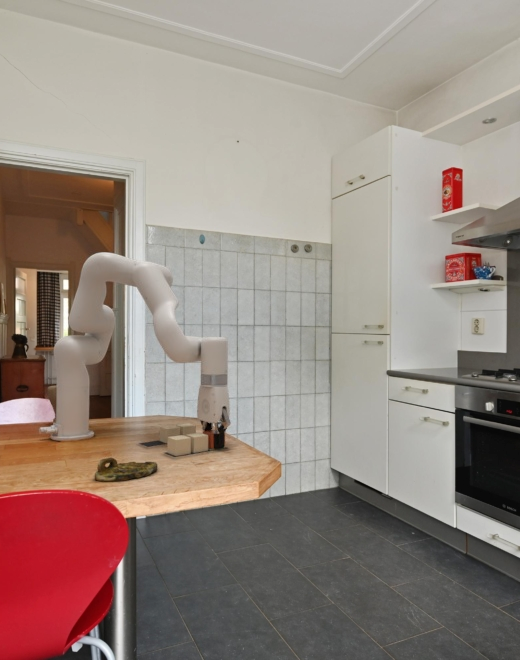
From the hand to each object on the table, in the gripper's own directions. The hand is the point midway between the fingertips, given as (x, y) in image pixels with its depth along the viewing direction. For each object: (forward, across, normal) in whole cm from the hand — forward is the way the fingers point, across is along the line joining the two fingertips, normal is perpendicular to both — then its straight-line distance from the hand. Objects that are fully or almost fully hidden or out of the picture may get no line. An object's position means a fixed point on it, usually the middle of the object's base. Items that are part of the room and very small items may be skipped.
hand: (213, 445), depth 134 cm
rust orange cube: (0, 0, 0) cm, 0 cm away
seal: (+1, +9, -30) cm, 31 cm away
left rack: (+1, -15, -6) cm, 16 cm away
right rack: (+1, 0, -6) cm, 6 cm away
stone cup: (+1, -62, -20) cm, 65 cm away
